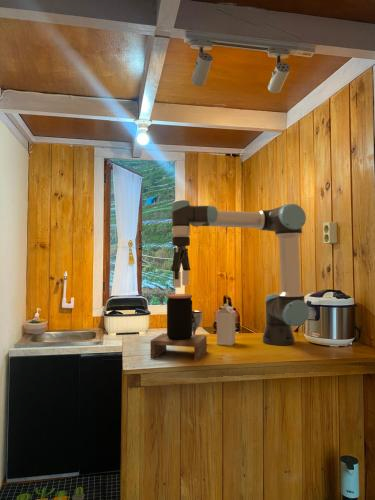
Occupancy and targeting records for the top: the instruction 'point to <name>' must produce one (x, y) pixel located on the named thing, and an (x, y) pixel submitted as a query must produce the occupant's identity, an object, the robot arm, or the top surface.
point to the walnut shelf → (195, 341)
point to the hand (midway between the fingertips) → (181, 286)
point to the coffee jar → (179, 316)
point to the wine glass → (196, 320)
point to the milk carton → (226, 326)
